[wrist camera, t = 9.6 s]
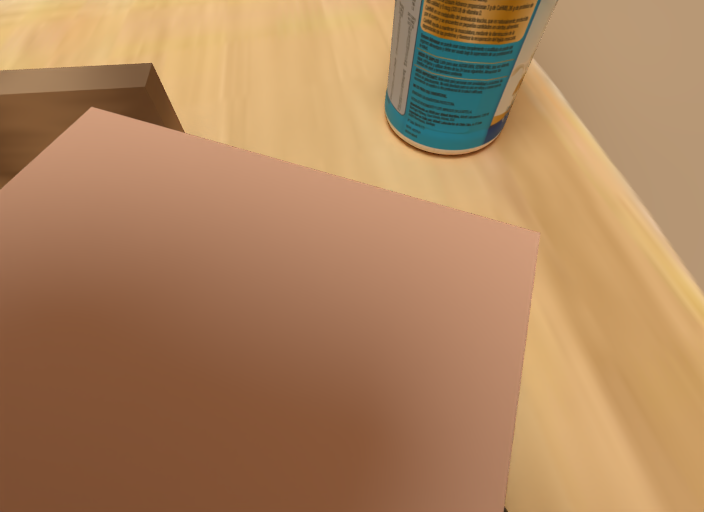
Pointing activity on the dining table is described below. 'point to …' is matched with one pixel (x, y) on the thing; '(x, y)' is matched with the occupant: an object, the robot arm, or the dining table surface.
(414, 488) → the lettered block
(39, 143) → the screen
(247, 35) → the dining table surface
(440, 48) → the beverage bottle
